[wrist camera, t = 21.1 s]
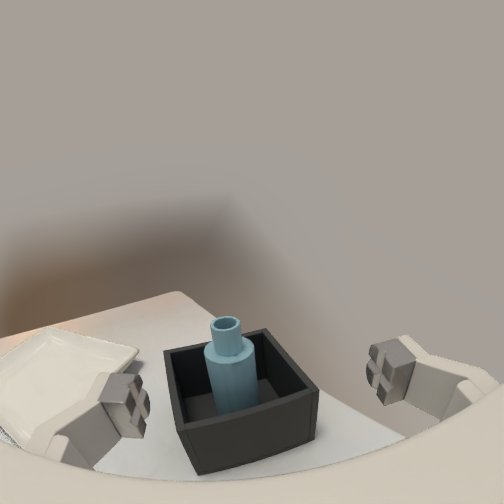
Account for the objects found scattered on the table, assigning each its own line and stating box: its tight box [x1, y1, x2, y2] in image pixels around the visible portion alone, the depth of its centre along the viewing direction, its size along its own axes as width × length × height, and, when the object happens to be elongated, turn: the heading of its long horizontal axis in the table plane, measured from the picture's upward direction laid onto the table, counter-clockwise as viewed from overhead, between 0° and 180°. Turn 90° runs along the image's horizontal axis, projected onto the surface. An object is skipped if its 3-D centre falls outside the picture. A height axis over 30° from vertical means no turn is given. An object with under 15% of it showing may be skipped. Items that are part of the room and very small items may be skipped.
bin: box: [163, 328, 319, 475], centre depth 29 cm, size 14×14×9 cm
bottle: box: [204, 316, 260, 416], centre depth 28 cm, size 5×5×14 cm
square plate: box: [0, 327, 139, 450], centre depth 32 cm, size 27×27×4 cm
